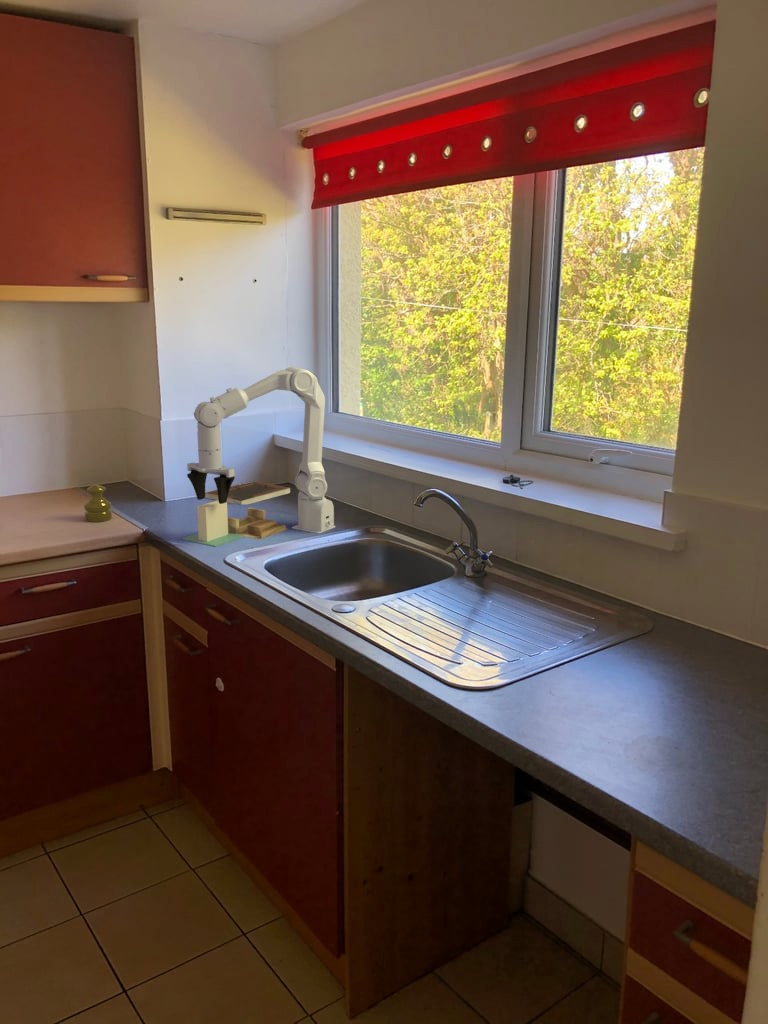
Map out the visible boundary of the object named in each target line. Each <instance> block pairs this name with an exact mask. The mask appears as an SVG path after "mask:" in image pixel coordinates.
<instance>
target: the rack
mask: <svg viewBox="0 0 768 1024" xmlns="http://www.w3.org/2000/svg"><path fill="white" fill-rule="evenodd" d="M246 515H247V516H246V517H243V518H235V517H229V516H228V532H229V533H234V534H239V535H243V536H245V537H247V538H252V539H256V540H262V539H264V538H265V539H266V538H267V537H271V536H273V535H276V534H279V533H280V532H284V531H287V530H288V528H287V527H286V524H283V525H280V526H279V527H277V528H274V529H271V530H268V531H265V532H263V533H260V536H256V535H251V534H248V526H247V525H250V524H253V523H256V522H259V521H262V520H265V519H267V517H266V516H267V514H266V510H265V509H260V508H253V507H247V508H246Z"/></svg>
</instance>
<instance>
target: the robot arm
mask: <svg viewBox="0 0 768 1024" xmlns="http://www.w3.org/2000/svg"><path fill="white" fill-rule="evenodd" d="M276 390H278V391H280V390H281V391H288V392H292V393H294V394H295V395H297V397H298V398H300V400H301V401H302V402H303V403H304V417H303V418H304V419H303V421H304V422H303V425H304V426H303V437H302V438H303V439H302V440H303V441H302V457H301V458H302V459H301V462H300V463H299V465H298V472H297V474H296V476H295V478H294V485H295V487H296V489H297V490H298V494H297V512H298V513H297V516H298V519H297V520H298V522H297V524H296V525H294V526H292V527H291V529H295V530H297V531H298V530H299V531H304V532H309V533H313V534H321V533H324V532H327V531H330V530H332V529H335V528H336V525H335V511H334V510H335V509H334V507H335V506H334V504H333V501H332V500H330V499H327V498H326V497H325V494H326V493H327V491H328V483H327V481H326V477H325V475H326V474H325V473H326V472H325V469H324V466H323V464H322V463H323V462H322V459H323V445H324V444H323V443H324V427H325V425H324V424H325V408H326V406H325V405H326V397H325V394H324V392H323V390H322V388H321V386H320V384H319V381H318V377H316V375H314V374H313V373H312V372H311V371H309V370H307V369H305V368H304V369H303V368H300V367H297V366H293V365H291V366H288V367H287V368H285V369H280V370H277V371H276V372H274V373H272V374H270V375H268V376H266V377H265V378H263V379H260V380H258V381H257V382H255V383H253V384H252V385H249V386H248V387H246V388H243V389H240V388H237V387H235V388H231V387H229V388H227V389H225V391H226V392H224V393H222V394H220V395H218V396H216V397H214V396H212V397H209V400H210V401H202V402H200V403H199V404H197V406H196V407H195V410H194V412H193V416H194V419H195V420H196V424H197V426H196V428H197V432H196V434H197V450H198V452H197V454H198V462H189V463H187V464H186V465H187V468H186V469H187V472H189V473H187V475H186V477H187V478H188V479H189V481H190V483H191V485H192V486H193V490H194V492H195V496H196V499H197V500H198V501H200V500H204V499H206V498H205V493H206V482H207V477H208V474H209V475H216V477H213V480H214V483H215V485H216V490H217V491H218V500H219V504H223V503H226V502H227V497H228V493H229V489H230V487H231V486H232V484H233V482H234V481H235V479H236V478H235V469H234V468H231V467H228V466H224V465H222V464H223V463H222V462H223V461H222V446H221V431H220V430H221V429H220V424H221V422H222V421H223V419H227V418H230V417H231V416H233V415H235V414H237V413H239V412H241V411H243V410H246V409H247V406H248V404H249V402H251V401H253V400H255V399H257V398H260V397H262V396H264V395H266V394H269V393H271V392H272V393H273V392H274V391H276Z"/></svg>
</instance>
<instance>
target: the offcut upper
mask: <svg viewBox="0 0 768 1024" xmlns="http://www.w3.org/2000/svg"><path fill="white" fill-rule="evenodd" d="M278 525H279V524H278V520H271V519H267V518H266V519H265V520H262V521H259V522H256V523H253V524H250V525H247V526H248V530H252V531H257V532H261V531H264V530H267V529H270V528H273V527H275V526H278Z"/></svg>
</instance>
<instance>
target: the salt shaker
mask: <svg viewBox="0 0 768 1024" xmlns="http://www.w3.org/2000/svg"><path fill="white" fill-rule="evenodd" d="M86 491H87V492H88V493H90V495H91V497H90V498H89V500H88V501H87V502H85V503H84V504H83V509H84V519H85V521H87V522H91V523H102V522H107V521H110V520H111V519H112V518H113V513H112V512H113V510H112V509H111V508H112V503H111V502H110V501H109V500H107V499H106V498H104V497H103V493H104V492H105V491H106V487H105V486H103V485H100V484H97V483H96V484H92V485H91V486H90V487H88V488H86Z"/></svg>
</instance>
